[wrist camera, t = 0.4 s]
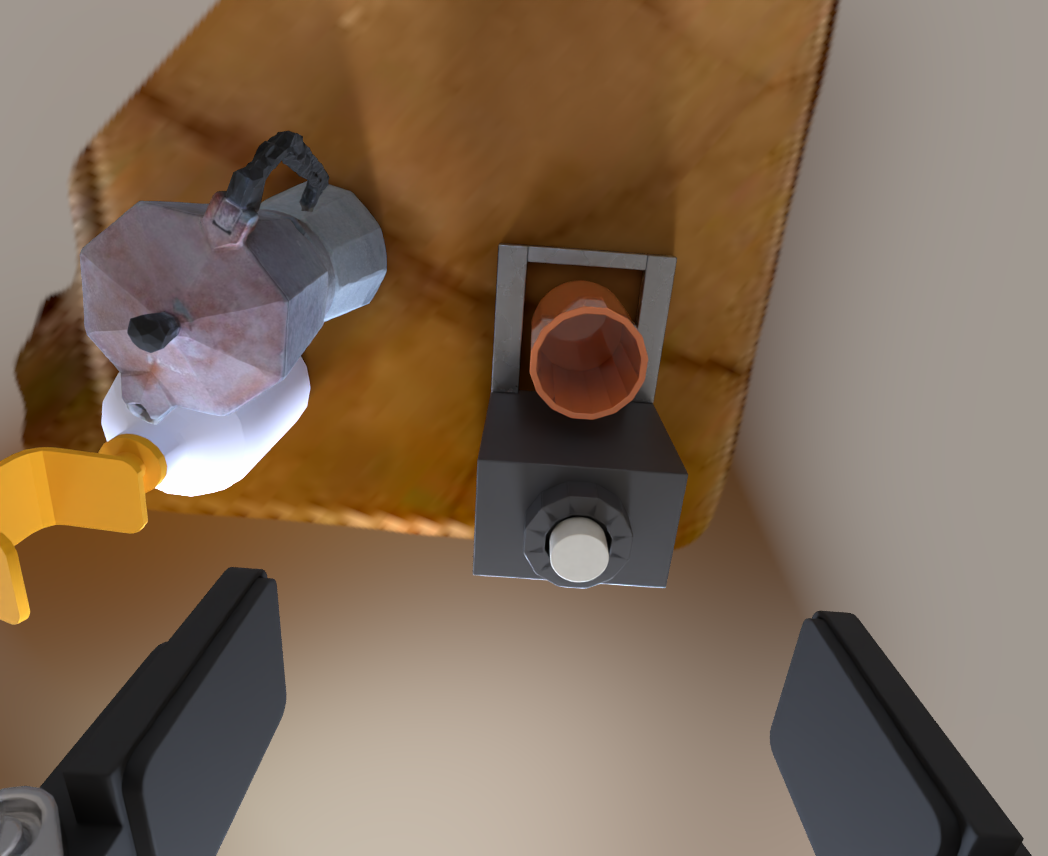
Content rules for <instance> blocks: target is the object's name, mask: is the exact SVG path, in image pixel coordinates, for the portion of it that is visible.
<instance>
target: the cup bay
mask: <svg viewBox="0 0 1048 856" xmlns="http://www.w3.org/2000/svg"><path fill="white" fill-rule="evenodd" d="M527 261H528V262H539V263H552V264H566V265H579V266H593V267H607V268H620V269H634V270H643V275H642V282H641V289H640V295H639V302H638V309H637V316H636V323H635V326H636V327H637V329H638V330H639V332H640V333H641V335H642V337H643V340H644V344H645V348H646V351H647V355H648V364H647V370H646V376H645V381H644V383H643V384H642V386H641V388H640V389H639V391H638V392H637V394H636V396H635V397H634V399H633V400H632V401H631V402H641V403H653V402H654V396H655V390H656V384H657V377H658V371H659V365H660V359H661V353H662V347H663V341H664V335H665V329H666V323H667V317H668V310H669V304H670V298H671V292H672V286H673V280H674V274H675V268H676V262H677V258H676V257H675V256H673V255H659V254H645V253H633V252H619V251H606V250H592V249H579V248H565V247H552V246H538V245H529V246H528V245H524V244H510V243H499V246H498V265H497V285H496V305H495V324H494V344H493V364H492V383H491V391H492V392H501V393H515V394H517V393H518V389H519V375H520V361H521V346H522V332H523V318H524V303H525V289H526V274H527Z"/></svg>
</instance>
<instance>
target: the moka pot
mask: <svg viewBox="0 0 1048 856" xmlns="http://www.w3.org/2000/svg"><path fill="white" fill-rule="evenodd" d="M281 161H282V162H283V164H286V165H287V166H289V167H290V168H291V169H292V170H293V171H294V172H297V174H298V175H299V176H302V177H303V178H305V179H307V180H308V181H306V182H304V183H301V184H299V185H297V186H295V187H292V188H290V189H288V190H286V191H283V192H281V193H279V194H277V195H275V196H272V197H270V198H268V199H267V200H265V201H263V202H262V203H261V199H262V195H263V190H264V185H265V181H266V179H267V177H268V176H269V174H270V173H271V171H272V170H273V169H275V168H276V167H277V165H278V164H279V163H280V162H281ZM328 180H329V176H328V174H327V172H326V171H325V169H324V167H323V165H322V164H321V163H320V162H319V161H318V159H317V158H316V157H315V156H314V155H313V154H312V152H311V151H310V148H309V147H307V146H306V144H305V143H304V142H303V136H301V135H299V134H298V133H294V132H291V131H284V132H278V133H277V135H275V136H273V137H271V138H270V139H269V140H268V141H264V142H263V143H262V144H261V145H260V146H259V147H258V149H257V151H256V154H255V156H254V158H253V160H252V162H250V163H248V164H247V166H246V167H244V168H242V169H239V170H237V171H235V172H233V175H232V178H231V181H230V183H229V186H228V189H227V191H219V192H216V193H215V194H214V195H213V197H212V199H211V201H210V203H209V204H195V203H183V202H162V201H139V202H138V203H136V204H135V205H134V206H133V207H131V208H130V209H129V210H128V211H126V212H125V213H124V214H123V215H122V216H121V217H119V218H118V219H117V220H116V221H115V222H114V223H112V224H111V225H110V226H109V227H108V228H107V229H105V230H104V231H103V232H101V233H100V234H99V235H98V236H96V237H95V238H94V239H93V240H92V241H90V242H89V243H88V244H87V245H86V246H85V247H83V248H82V250H81V253H80V263H81V275H82V286H83V302H84V325H85V329H86V333H87V335H88V336H89V337H90V339H91V340H92V341H93V342H94V343H95V344H96V345H97V346H98V347H99V349H100V350H101V351H102V352H103V353H104V355H105V356H106V357H107V358H108V359H109V360H110V361H111V362H112V363H113V364H114V365H115V367H116V368H117V369H118V370H119V371H120V373H121V391H122V399H123V401H124V402H125V404H126V405H127V409H128V410H129V411H130V412H131V413H132V414H133V415H135V416H136V417H138V418H140V419H142V420H144V421H146V422H147V423H150V424H154V425H156V424H158V423H159V422H161V421H162V420H163V419H164V417H165V416H166V415H168V414H169V413H170V412H171V411H172V410H173V409H175V408H176V407H182V408H187V409H191V410H195V411H199V412H202V413H207V414H212V415H217V416H226V415H230V414H231V413H233V412H234V411H236V410H237V409H239V408H240V407H242V406H243V405H245V404H246V403H248V402H249V401H251V400H252V399H254V398H256V397H257V396H259V395H260V394H262V393H263V392H265V391H266V390H268V389H269V388H271V387H273V386H274V385H276V384H277V383H279V382H280V381H282V380H284V379H285V378H286V376H287V375H288V373H289V372H290V370H291V369H292V368H293V366H294V365H295V363H296V362H297V361H298V359H299V358H300V356H301V355H302V353H303V352H304V351H305V349H306V348H307V346H308V345H309V344H310V342H311V341H312V340H313V338H314V337H315V335H316V334H317V333H318V331H319V330H320V329H321V327H322V326H323V324H324V322H325V321H328V320H330V319H333V318H335V317H338V316H340V315H342V314H345V313H347V312H350V311H352V310H354V309H357V308H359V307H361V306H364V305H366V304H369V303H370V301H371V300H372V298H373V297H374V295H375V293H376V292H377V290H378V288H379V286H380V284H381V282H382V280H383V279H384V276H385V274H386V271H387V256H386V248H385V243H384V239H383V235H382V231H381V228H380V226H379V224H378V223H377V221H376V220H375V218H374V217H373V216H372V215H371V214H370V212H369V211H368V209H367V208H366V207H365V206H364V205H363V204H362V203H361V202H360V200H359V199H358V198H357V197H356V196H355V194H354V193H352V192H351V191H348V190H345V189H342V188H340V187H335V186H333V185H329V184H328Z"/></svg>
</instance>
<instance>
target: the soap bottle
mask: <svg viewBox="0 0 1048 856" xmlns="http://www.w3.org/2000/svg"><path fill="white" fill-rule="evenodd" d="M309 393H310V382H309V376H308V371H307V366H306V364H305V363H304V361H303V359H302V357H301V356H300V358H299V359H298V361H297V362H296V363H295V365H294V366H293V368H292V369H291V370H290V372H289V373H288V375H287V376H286V378H285V379H284V380H282V381H280V382H279V383H277V384H276V385H274V386H273V387H271V388H269V389H268V390H266V391H265V392H263V393H262V394H260V395H259V396H257V397H256V398H254V399H252V400H251V401H249V402H248V403H246V404H245V405H243V406H242V407H240V408H239V409H237V410H236V411H234V412H233V413H231V414H230V415H226V416H217V415H212V414H207V413H202V412H199V411H195V410H191V409H187V408H182V407H176V408H175V409H173V410H172V411H171V412H170V413H169V414H168V415H166V416H165V417H164V419H163V420H162V421H161V422H159V423H158V424H156V425H154V424H150V423H147V422H146V421H144V420H142V419H140V418H138V417H136V416H135V415H133V414H132V413H131V412H130V411H129V410H128V409H127V405H126V404H125V402H124V401H123V399H122V391H121V373H118V375H117V377H116V379H115V381H114V382H113V384H112V386H111V388H110V390H109V392H108V393H107V395H106V397H105V399H104V401H103V407H102V427H103V430H104V433H105V436H106V439H107V442H106V443H104V445H103V446H102V448H101V449H100V451H99V453H91V452H84V451H77V450H69V449H62V448H55V447H39V448H33V449H27V450H23V451H21V452H18V453H15V454H13V455H11V456H9V457H7V458H5V459H4V460H2V461H0V619H1V620H3V621H5V622H8V623H10V624H13V625H14V624H18V623H20V622H22V621H24V620H25V619H27V618H28V617H29V614H30V609H29V604H28V600H27V595H26V591H25V586H24V582H23V578H22V573H21V568H20V564H19V559H18V555H17V551H16V549H15V548H14V546H15V545H16V544H18V543H19V542H21V541H22V540H23V539H25V538H26V537H28V536H29V535H30V534H32V533H34V532H36V531H38V530H40V529H42V528H45V527H49V526H52V525H70V526H78V527H86V528H93V529H101V530H109V531H116V532H124V533H131V534H133V533H135V532H138V531H140V530H141V529H142V528H143V527H144V526H145V525H146V523H147V522H148V517H147V508H146V500H145V493H146V492H148V491H150V490H152V489H154V488H157V489H159V490H161V491H164V492H166V493H170V494H177V495H185V496H196V495H201V494H207V493H212V492H216V491H220V490H224V489H226V488H227V487H229V486H231V485H232V484H234V483H235V482H237V481H239V480H240V479H242V478H243V477H244V476H245V475H246V474H247V473H248V472H249V471H250V470H251V469H252V468H253V467H254V466H255V465H256V464H257V463H258V462H259V461H260V459H261V458H262V457H263V456H264V455H265V454H266V453H267V452H268V451H269V450H270V449H271V448H272V447H273V446H274V445H275V444H276V443H277V442H278V440H279V439H280V438H281V437H282V436H283V435H284V434H285V433H286V432H287V431H288V430H289V429H290V428H291V427H292V426H293V425H294V424H295V423H296V421H297V420H298V419H299V417H300V416H301V414H302V413H303V411H304V410H305V408H306V407H307V403H308V398H309Z"/></svg>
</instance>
